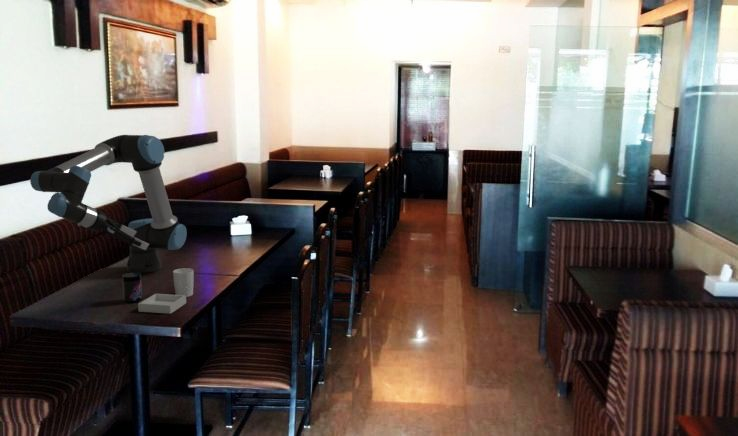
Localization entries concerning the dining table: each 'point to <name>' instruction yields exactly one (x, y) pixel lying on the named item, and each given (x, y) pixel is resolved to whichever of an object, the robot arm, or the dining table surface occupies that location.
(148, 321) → the dining table surface
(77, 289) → the dining table surface
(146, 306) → the tray
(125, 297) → the supplement container
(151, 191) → the robot arm
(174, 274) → the white cup
